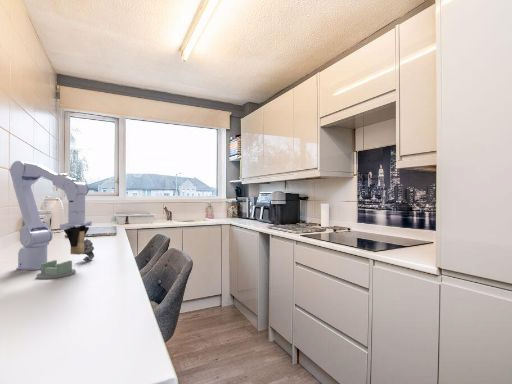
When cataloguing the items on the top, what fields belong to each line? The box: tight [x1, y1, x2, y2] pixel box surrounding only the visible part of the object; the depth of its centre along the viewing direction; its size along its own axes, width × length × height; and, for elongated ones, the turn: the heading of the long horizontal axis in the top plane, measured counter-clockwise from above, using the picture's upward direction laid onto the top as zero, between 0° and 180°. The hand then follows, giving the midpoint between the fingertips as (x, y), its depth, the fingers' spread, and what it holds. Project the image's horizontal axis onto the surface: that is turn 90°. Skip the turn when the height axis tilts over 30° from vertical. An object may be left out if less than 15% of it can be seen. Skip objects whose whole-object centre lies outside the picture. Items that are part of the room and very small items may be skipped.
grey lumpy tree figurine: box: [82, 238, 95, 262], centre depth 128 cm, size 5×5×10 cm
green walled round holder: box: [36, 259, 76, 280], centre depth 106 cm, size 12×12×5 cm
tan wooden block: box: [70, 231, 85, 256], centre depth 113 cm, size 4×2×9 cm, turn 83°
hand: (76, 245), depth 113 cm, fingers closed on tan wooden block, 2 cm apart
